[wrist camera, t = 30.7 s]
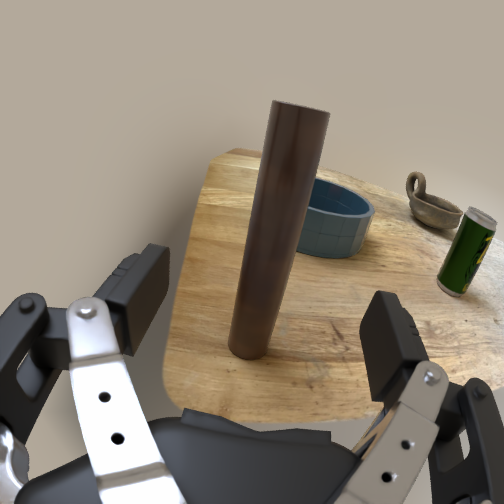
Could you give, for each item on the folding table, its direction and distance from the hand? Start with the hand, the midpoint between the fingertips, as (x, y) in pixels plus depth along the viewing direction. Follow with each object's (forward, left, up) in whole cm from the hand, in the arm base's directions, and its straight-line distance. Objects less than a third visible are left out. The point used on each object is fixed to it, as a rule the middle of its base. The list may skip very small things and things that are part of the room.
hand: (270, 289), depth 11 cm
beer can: (+24, +29, -12) cm, 39 cm away
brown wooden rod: (-1, +8, -12) cm, 14 cm away
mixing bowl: (+1, +34, -12) cm, 36 cm away
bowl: (+27, +59, -12) cm, 66 cm away
